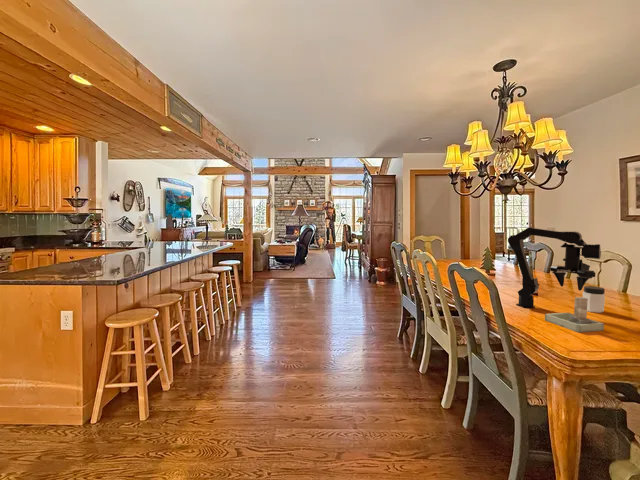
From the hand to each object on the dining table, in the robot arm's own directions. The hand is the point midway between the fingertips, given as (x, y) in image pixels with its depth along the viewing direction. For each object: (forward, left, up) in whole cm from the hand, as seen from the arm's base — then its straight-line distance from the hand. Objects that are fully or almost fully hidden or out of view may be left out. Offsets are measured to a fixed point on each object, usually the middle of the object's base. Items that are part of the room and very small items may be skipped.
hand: (570, 288), depth 157 cm
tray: (+14, -14, -13) cm, 24 cm away
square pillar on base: (+17, -14, -12) cm, 25 cm away
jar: (-3, +18, -13) cm, 23 cm away
